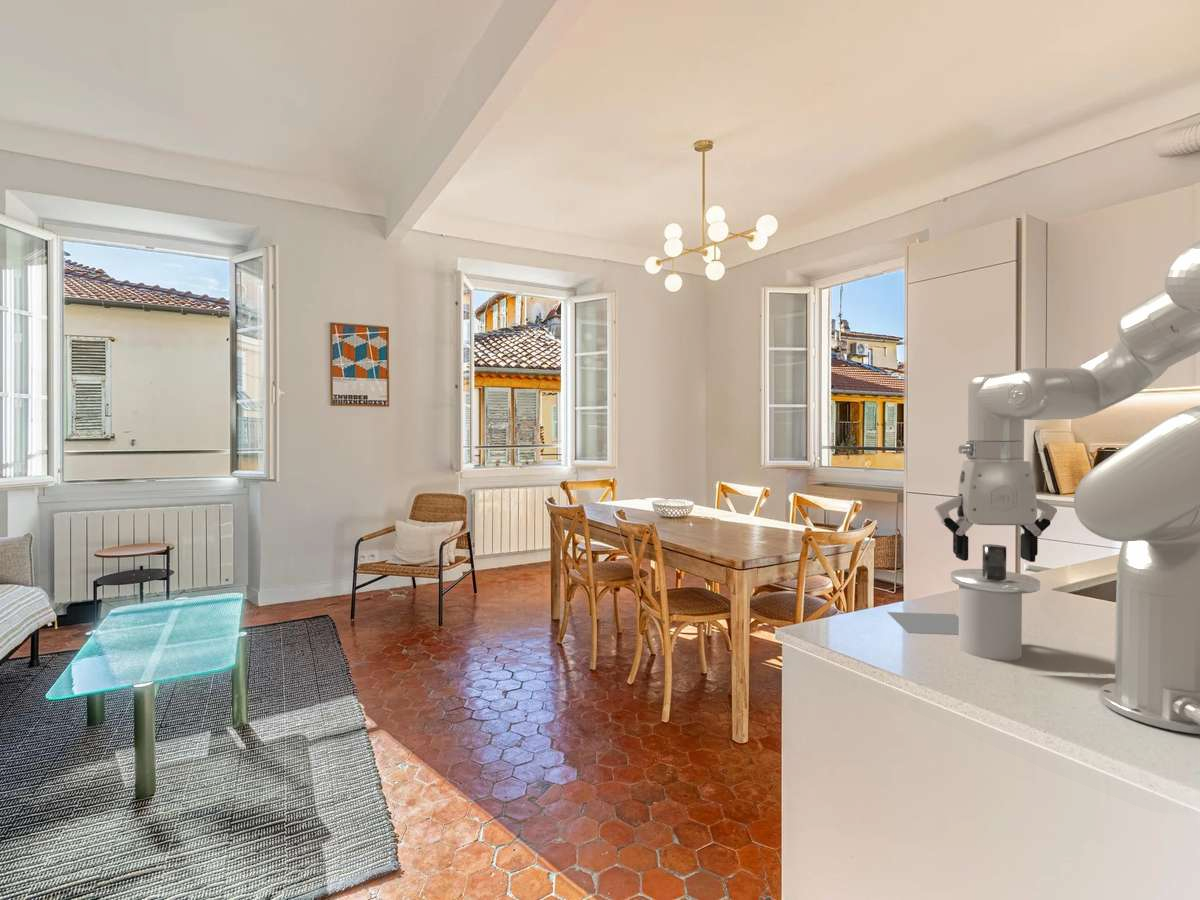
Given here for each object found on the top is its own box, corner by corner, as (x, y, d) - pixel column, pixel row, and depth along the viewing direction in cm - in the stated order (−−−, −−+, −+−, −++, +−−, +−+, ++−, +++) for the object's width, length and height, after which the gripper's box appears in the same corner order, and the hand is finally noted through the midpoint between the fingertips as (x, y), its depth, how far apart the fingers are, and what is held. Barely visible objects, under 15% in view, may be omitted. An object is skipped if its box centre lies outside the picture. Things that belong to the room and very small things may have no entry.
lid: (1057, 594, 92) (1057, 554, 92) (970, 592, 94) (970, 553, 94) (1015, 575, 104) (1016, 540, 104) (939, 573, 106) (939, 539, 106)
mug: (1009, 668, 92) (1009, 595, 92) (948, 652, 99) (949, 584, 99) (1038, 650, 99) (1038, 582, 99) (980, 636, 106) (980, 573, 106)
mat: (983, 638, 105) (983, 635, 105) (908, 636, 107) (908, 632, 107) (954, 617, 117) (954, 614, 117) (887, 615, 119) (887, 612, 119)
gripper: (946, 453, 96) (945, 563, 96) (1069, 453, 93) (1068, 566, 94) (928, 452, 103) (927, 553, 104) (1042, 451, 100) (1041, 555, 101)
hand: (994, 559), depth 99 cm, fingers open, 9 cm apart
